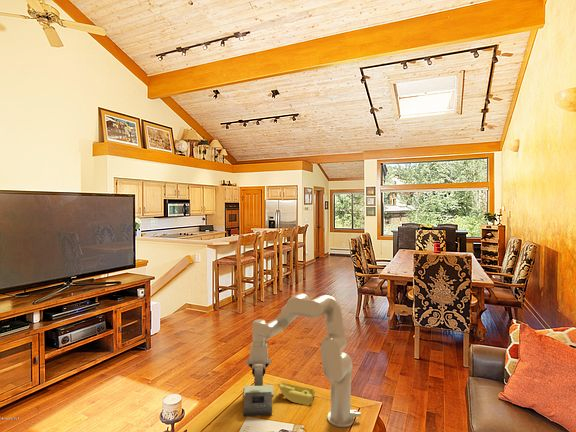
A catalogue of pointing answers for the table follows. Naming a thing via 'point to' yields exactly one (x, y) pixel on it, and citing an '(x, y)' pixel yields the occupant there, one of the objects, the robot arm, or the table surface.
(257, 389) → the sage mat
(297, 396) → the plastic component
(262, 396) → the socket block
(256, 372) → the beige peg
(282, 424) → the table surface
